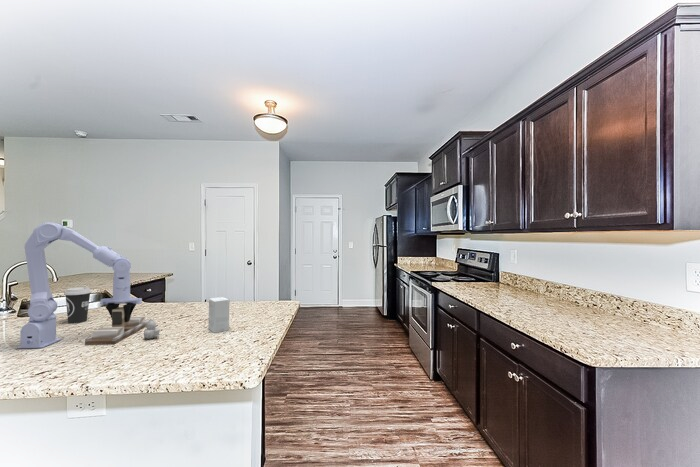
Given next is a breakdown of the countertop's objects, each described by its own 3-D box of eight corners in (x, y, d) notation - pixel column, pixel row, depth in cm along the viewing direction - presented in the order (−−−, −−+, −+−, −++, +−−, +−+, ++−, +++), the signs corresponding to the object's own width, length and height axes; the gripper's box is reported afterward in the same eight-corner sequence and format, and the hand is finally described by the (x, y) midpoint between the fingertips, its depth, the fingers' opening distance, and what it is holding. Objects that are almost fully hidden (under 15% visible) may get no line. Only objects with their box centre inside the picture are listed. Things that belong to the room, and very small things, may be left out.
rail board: (114, 344, 117) (115, 332, 117) (84, 344, 116) (85, 333, 116) (150, 324, 143) (150, 314, 143) (125, 324, 142) (126, 315, 142)
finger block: (121, 327, 127) (122, 310, 127) (110, 327, 126) (111, 310, 126) (129, 323, 132) (130, 306, 132) (119, 324, 132) (119, 306, 132)
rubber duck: (151, 335, 128) (151, 315, 128) (164, 337, 126) (165, 316, 126) (139, 339, 122) (139, 318, 123) (153, 341, 121) (153, 320, 121)
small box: (229, 330, 136) (229, 299, 136) (213, 333, 132) (214, 301, 132) (223, 326, 142) (223, 296, 142) (207, 328, 138) (208, 298, 138)
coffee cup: (78, 324, 141) (79, 290, 141) (57, 324, 141) (58, 290, 141) (96, 319, 150) (97, 287, 150) (76, 318, 150) (77, 286, 151)
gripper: (145, 286, 134) (145, 318, 134) (108, 286, 132) (107, 319, 132) (136, 289, 127) (136, 323, 127) (97, 289, 125) (96, 324, 125)
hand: (121, 321), depth 129 cm, fingers closed on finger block, 4 cm apart
